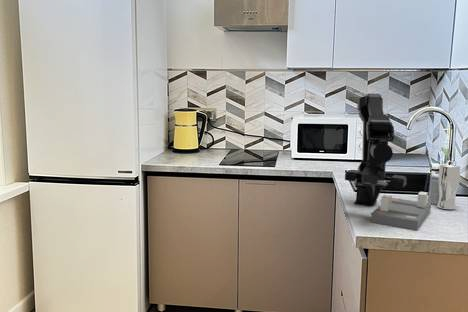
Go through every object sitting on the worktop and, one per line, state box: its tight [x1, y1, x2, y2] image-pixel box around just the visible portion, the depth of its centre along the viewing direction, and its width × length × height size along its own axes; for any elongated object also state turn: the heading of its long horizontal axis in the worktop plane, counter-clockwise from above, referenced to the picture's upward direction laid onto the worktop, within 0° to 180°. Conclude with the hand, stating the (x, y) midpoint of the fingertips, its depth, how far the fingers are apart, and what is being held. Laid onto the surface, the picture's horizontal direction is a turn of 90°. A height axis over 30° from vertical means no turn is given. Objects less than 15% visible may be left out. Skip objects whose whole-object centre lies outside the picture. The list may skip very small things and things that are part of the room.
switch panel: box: [370, 197, 432, 231], centre depth 153 cm, size 14×24×3 cm, turn 148°
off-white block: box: [416, 191, 429, 208], centre depth 155 cm, size 2×4×4 cm, turn 148°
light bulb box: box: [427, 170, 439, 205], centre depth 173 cm, size 11×7×11 cm, turn 158°
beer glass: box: [436, 164, 461, 210], centre depth 164 cm, size 7×7×15 cm
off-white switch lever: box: [380, 194, 393, 212], centre depth 149 cm, size 2×4×4 cm, turn 148°
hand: (373, 203), depth 152 cm, fingers closed
